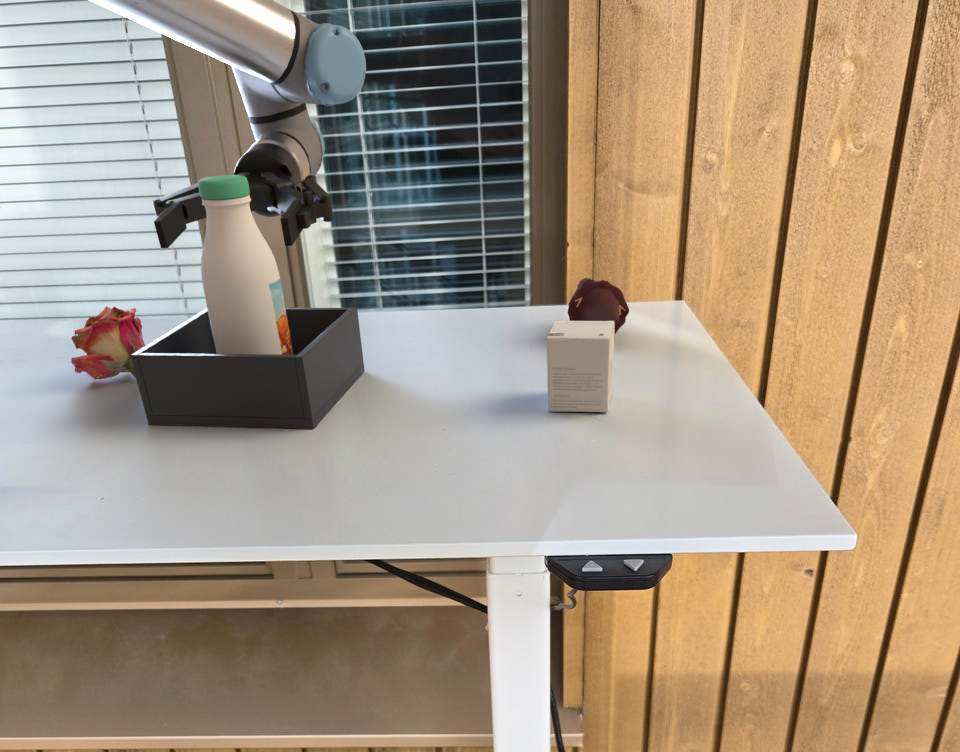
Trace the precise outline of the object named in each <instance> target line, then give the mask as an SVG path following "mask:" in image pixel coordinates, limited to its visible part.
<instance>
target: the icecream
mask: <svg viewBox="0 0 960 752" xmlns="http://www.w3.org/2000/svg"><path fill="white" fill-rule="evenodd" d="M576 286H577V287H576V290H575V291H574V293H573V295H572V297H571V299H570V301H569V302H568V308H567V315H568V318H569V320H568V321H614V323H615V329H614V336H616V334H617V333H618V331H619V330H620V328H622V327H623V325H625V323H626V321H627V316H628V315H629V314H630V308H629V305H628V303H627V301H626V299H625V296H624V294H623V293H624V292H623V291H622V290H621V289H620V288H619V287H617V286H615V285H614V284H612V283H611V282H609V280H606V279H605V280H604V279H602V280H601V279H600V280H599V281H598V280H597V281H595V279H592V278H588V277H585V278H582V279H580V280H579V282H578V283H577V285H576Z"/></svg>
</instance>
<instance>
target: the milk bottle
mask: <svg viewBox="0 0 960 752" xmlns="http://www.w3.org/2000/svg"><path fill="white" fill-rule="evenodd" d="M206 177H207V178H206ZM206 177H204V178H201V179H199V180H198V182H197V183H198V187H199V192H200V196H201V198H202V205H203V206H205V208H206V214H207V218H206V228H205V237H204V241H203V246H202V251H201V259H200V275H201V282H202V283H201V284H202V287H203V288H202V289H203V294H204V299H205V304H206V308H207V310H208V314H209V319H210V324H211V329H212V334H213V339H214V343H215V348H216V353H217V354H277V355H293V349H292V343H291V337H290V331H289V325H288V319H287V313H286V308H287V307H286V303H285V297H284V291H283V285H282V281H281V275H280V271H279V268H278V264H277V261H276V258H275V255H274V253H273V252H272V251H273V250H272V249H271V247H270V246H269V244H268V242H267V241H266V239H265V238H264V236H263V234H262V232H261V231H260V229H259V226H258V225H257V223H256V221H255V218H254V216H253V213H252V211H251V210H250V205H249V203H250V201H251V199H250V195H249V194H250V191H249V184H248V180H247V178H246V177H245V176H242V175H234V174H225V175H215V176H206Z"/></svg>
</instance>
